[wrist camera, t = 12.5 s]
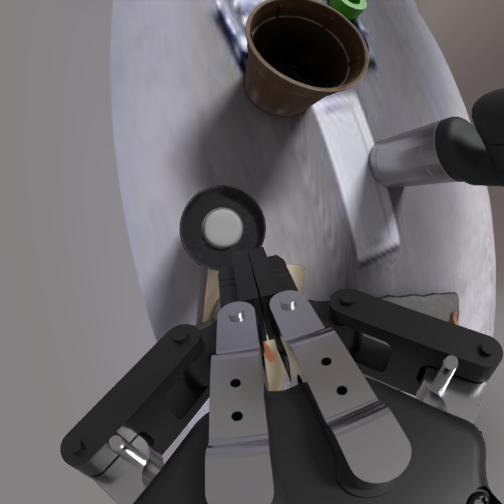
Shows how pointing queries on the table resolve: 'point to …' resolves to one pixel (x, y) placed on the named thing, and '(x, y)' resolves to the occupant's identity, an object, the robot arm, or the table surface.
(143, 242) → the table surface
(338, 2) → the tape dispenser
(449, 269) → the table surface
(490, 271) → the table surface
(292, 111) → the plant pot
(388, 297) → the serving board
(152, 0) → the table surface
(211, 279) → the flat beige board
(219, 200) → the travel mug
